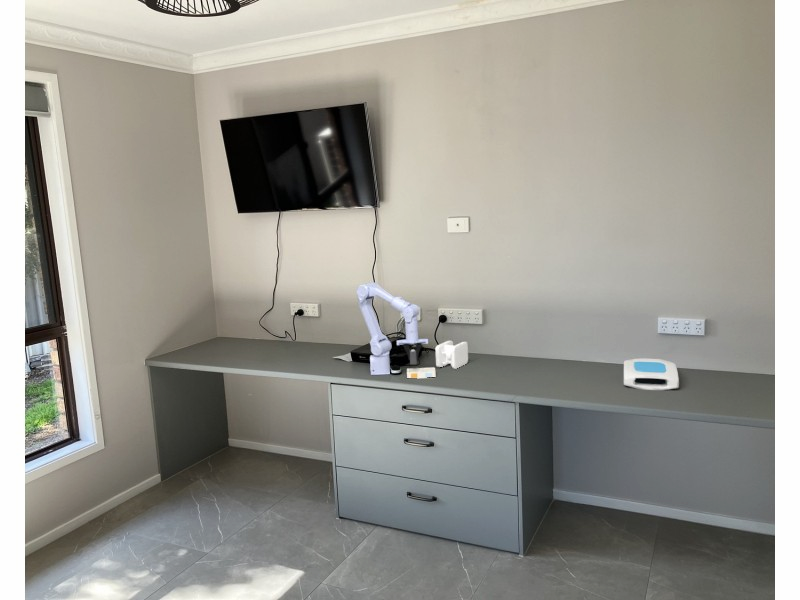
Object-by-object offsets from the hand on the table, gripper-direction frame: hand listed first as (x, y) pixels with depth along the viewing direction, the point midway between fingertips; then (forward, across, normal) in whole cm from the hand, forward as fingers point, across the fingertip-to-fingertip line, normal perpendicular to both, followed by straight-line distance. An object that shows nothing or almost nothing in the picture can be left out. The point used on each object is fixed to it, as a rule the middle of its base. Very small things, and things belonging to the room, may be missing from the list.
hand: (413, 359), depth 294 cm
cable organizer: (+9, +19, +15) cm, 26 cm away
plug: (+2, 0, 0) cm, 2 cm away
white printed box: (+8, +3, 0) cm, 9 cm away
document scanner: (+9, +102, -21) cm, 104 cm away
